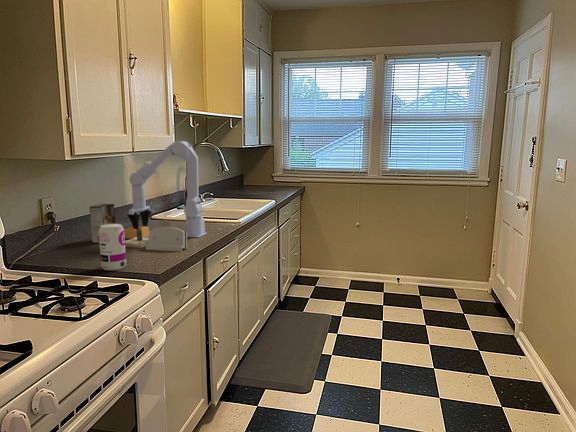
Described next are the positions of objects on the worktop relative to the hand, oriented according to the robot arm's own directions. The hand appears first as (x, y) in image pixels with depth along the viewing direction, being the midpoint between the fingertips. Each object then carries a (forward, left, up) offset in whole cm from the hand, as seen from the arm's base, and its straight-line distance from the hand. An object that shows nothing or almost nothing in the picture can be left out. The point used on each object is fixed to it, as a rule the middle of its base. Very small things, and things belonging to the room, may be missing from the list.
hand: (140, 227), depth 207 cm
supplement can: (+50, +21, -4) cm, 55 cm away
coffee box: (+13, -10, -4) cm, 17 cm away
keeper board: (+15, +9, -4) cm, 18 cm away
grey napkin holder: (+20, +25, -4) cm, 33 cm away
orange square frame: (+3, 0, -4) cm, 5 cm away
